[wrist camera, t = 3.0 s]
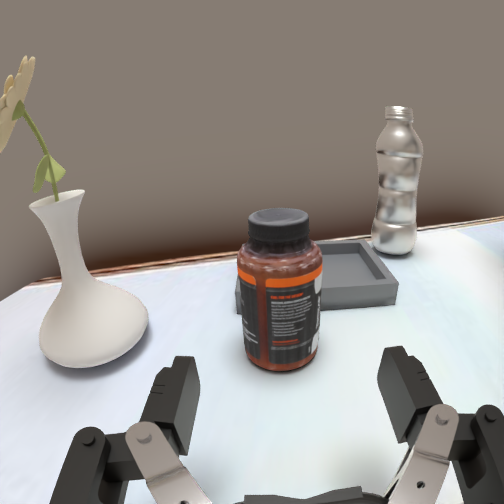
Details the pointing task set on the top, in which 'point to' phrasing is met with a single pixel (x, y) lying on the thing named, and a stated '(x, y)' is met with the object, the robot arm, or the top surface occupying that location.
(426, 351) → the top surface
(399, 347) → the robot arm
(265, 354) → the supplement bottle
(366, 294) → the gray tray
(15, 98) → the flower in vase
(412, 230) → the plastic bottle
